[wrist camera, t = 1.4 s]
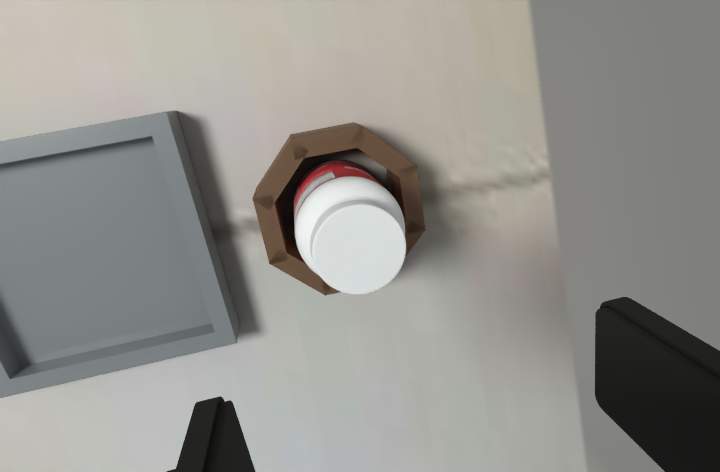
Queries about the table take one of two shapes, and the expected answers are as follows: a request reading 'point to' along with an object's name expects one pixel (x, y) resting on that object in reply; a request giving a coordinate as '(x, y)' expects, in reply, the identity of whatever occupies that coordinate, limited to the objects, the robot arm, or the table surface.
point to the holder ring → (319, 143)
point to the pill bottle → (348, 227)
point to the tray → (105, 254)
